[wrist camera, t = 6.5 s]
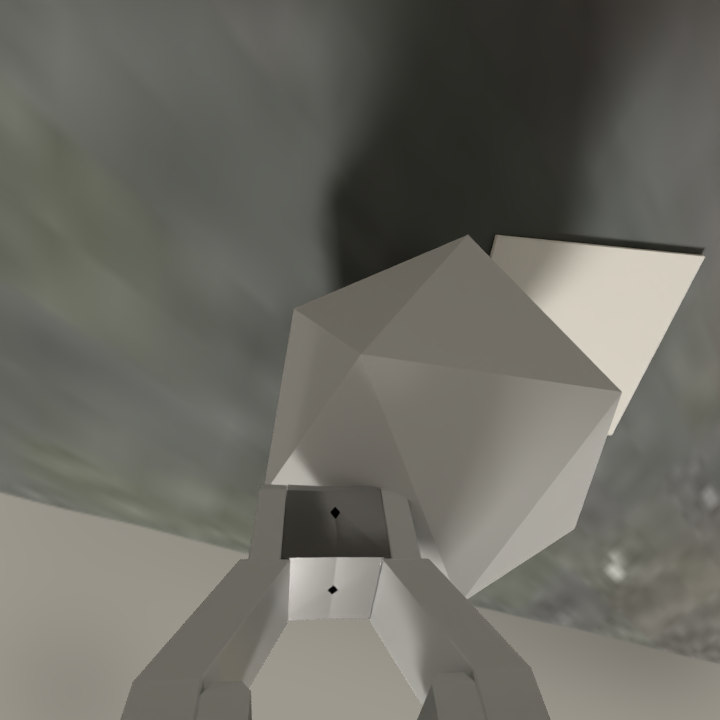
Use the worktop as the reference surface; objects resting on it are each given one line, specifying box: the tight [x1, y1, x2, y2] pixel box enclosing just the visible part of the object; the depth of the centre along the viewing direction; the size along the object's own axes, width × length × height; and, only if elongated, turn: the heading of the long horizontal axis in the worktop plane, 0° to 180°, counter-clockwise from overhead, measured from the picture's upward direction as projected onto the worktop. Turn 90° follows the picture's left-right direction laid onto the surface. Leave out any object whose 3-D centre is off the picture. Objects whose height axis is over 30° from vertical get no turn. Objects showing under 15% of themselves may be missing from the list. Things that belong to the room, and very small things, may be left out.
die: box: [265, 235, 622, 599], centre depth 12 cm, size 8×9×10 cm
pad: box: [490, 235, 705, 435], centre depth 17 cm, size 8×8×1 cm
